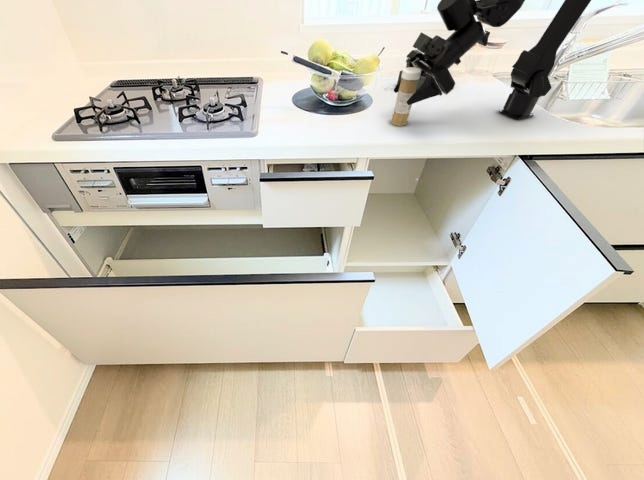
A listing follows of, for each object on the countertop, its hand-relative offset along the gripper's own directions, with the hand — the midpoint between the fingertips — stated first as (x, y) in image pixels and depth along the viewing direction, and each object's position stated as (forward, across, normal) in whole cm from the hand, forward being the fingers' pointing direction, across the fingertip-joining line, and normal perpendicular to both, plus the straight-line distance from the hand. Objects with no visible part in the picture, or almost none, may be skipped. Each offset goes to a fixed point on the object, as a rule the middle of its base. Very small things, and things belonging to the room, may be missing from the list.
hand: (400, 97), depth 88 cm
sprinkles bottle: (+4, 0, +6) cm, 7 cm away
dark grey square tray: (-9, -28, +19) cm, 36 cm away
